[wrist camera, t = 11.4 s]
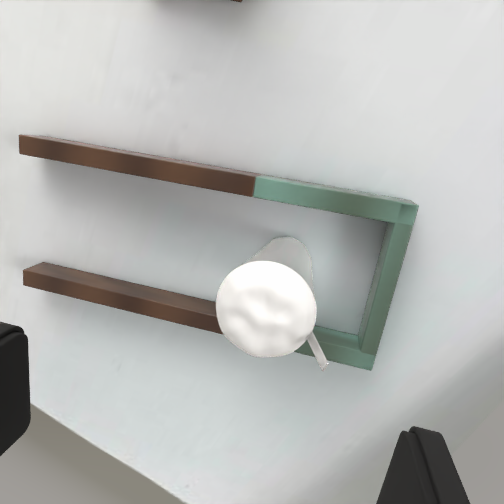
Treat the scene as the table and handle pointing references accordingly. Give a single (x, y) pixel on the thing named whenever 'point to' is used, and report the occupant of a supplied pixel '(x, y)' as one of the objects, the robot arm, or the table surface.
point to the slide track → (243, 183)
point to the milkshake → (271, 302)
